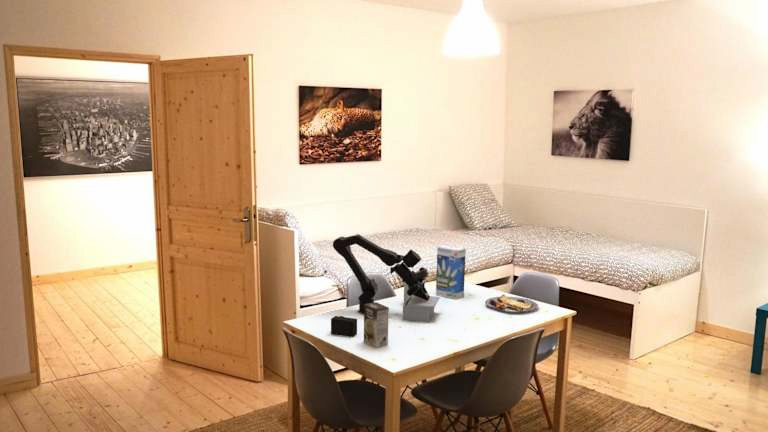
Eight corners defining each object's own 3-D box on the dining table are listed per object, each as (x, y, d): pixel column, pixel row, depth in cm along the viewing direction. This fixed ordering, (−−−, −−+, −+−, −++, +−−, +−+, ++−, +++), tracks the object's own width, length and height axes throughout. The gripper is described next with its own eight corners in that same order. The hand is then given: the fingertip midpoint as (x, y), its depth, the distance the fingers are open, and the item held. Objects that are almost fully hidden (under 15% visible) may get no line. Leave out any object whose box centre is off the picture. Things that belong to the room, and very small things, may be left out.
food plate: (476, 305, 318) (476, 298, 318) (505, 297, 334) (505, 291, 333) (517, 318, 300) (518, 311, 300) (546, 309, 316) (547, 302, 315)
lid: (407, 305, 292) (407, 297, 292) (413, 296, 308) (413, 288, 308) (434, 307, 290) (434, 299, 289) (439, 298, 306) (439, 290, 305)
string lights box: (435, 295, 337) (436, 246, 333) (443, 292, 343) (444, 244, 339) (456, 299, 328) (458, 250, 325) (464, 296, 334) (466, 247, 330)
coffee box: (363, 342, 265) (363, 303, 263) (376, 339, 269) (376, 301, 267) (375, 348, 258) (375, 309, 256) (388, 345, 262) (389, 306, 259)
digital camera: (358, 333, 276) (358, 317, 275) (353, 337, 271) (353, 321, 270) (336, 330, 280) (336, 314, 279) (331, 334, 275) (330, 318, 274)
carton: (402, 320, 294) (402, 305, 293) (409, 310, 310) (409, 296, 308) (428, 322, 291) (429, 307, 290) (433, 312, 307) (434, 298, 306)
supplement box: (419, 307, 315) (419, 282, 313) (403, 307, 315) (404, 281, 313) (418, 303, 322) (418, 278, 320) (403, 302, 322) (404, 278, 320)
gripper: (414, 267, 288) (438, 293, 287) (421, 258, 306) (444, 282, 305) (396, 283, 291) (420, 309, 290) (404, 273, 309) (427, 297, 308)
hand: (428, 299), depth 298 cm, fingers closed on lid, 3 cm apart
